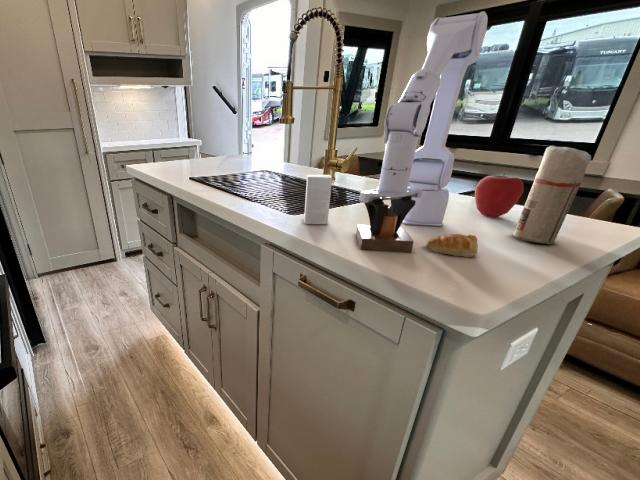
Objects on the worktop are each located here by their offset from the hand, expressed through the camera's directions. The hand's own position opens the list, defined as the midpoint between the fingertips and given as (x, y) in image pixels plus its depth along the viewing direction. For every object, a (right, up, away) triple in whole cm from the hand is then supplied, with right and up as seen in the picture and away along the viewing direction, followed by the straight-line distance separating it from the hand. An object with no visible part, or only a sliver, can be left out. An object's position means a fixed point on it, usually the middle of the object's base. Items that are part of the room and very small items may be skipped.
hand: (383, 232), depth 80 cm
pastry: (+13, -5, -4) cm, 15 cm away
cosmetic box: (-12, +5, +16) cm, 21 cm away
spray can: (+36, -1, +3) cm, 36 cm away
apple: (+39, +9, +22) cm, 45 cm away
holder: (0, -2, +1) cm, 2 cm away
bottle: (0, -2, +1) cm, 2 cm away
